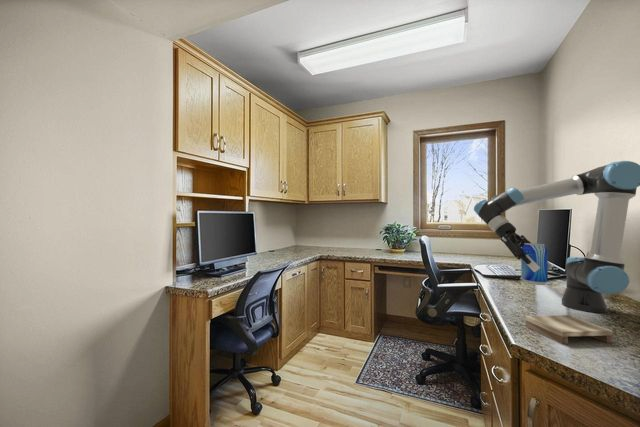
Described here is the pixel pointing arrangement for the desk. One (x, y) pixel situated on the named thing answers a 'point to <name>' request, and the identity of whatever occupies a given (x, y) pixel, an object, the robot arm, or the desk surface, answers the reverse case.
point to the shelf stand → (566, 328)
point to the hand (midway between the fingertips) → (543, 269)
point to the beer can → (540, 258)
